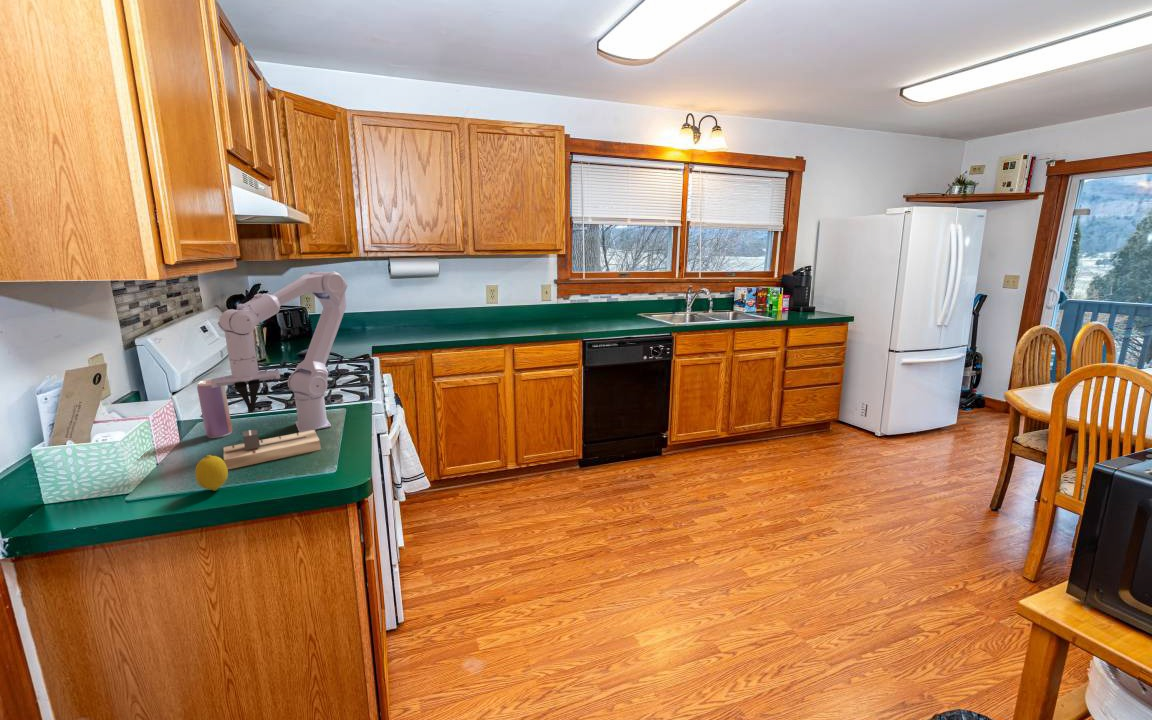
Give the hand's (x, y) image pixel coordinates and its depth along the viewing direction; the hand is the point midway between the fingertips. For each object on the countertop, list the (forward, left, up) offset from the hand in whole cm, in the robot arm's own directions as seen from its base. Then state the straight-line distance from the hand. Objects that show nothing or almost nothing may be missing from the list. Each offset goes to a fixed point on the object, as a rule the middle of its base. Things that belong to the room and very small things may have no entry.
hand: (251, 409), depth 131 cm
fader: (+9, -1, -7) cm, 11 cm away
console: (+9, +3, -9) cm, 13 cm away
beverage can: (-14, -8, -10) cm, 19 cm away
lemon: (+24, -9, -10) cm, 27 cm away
